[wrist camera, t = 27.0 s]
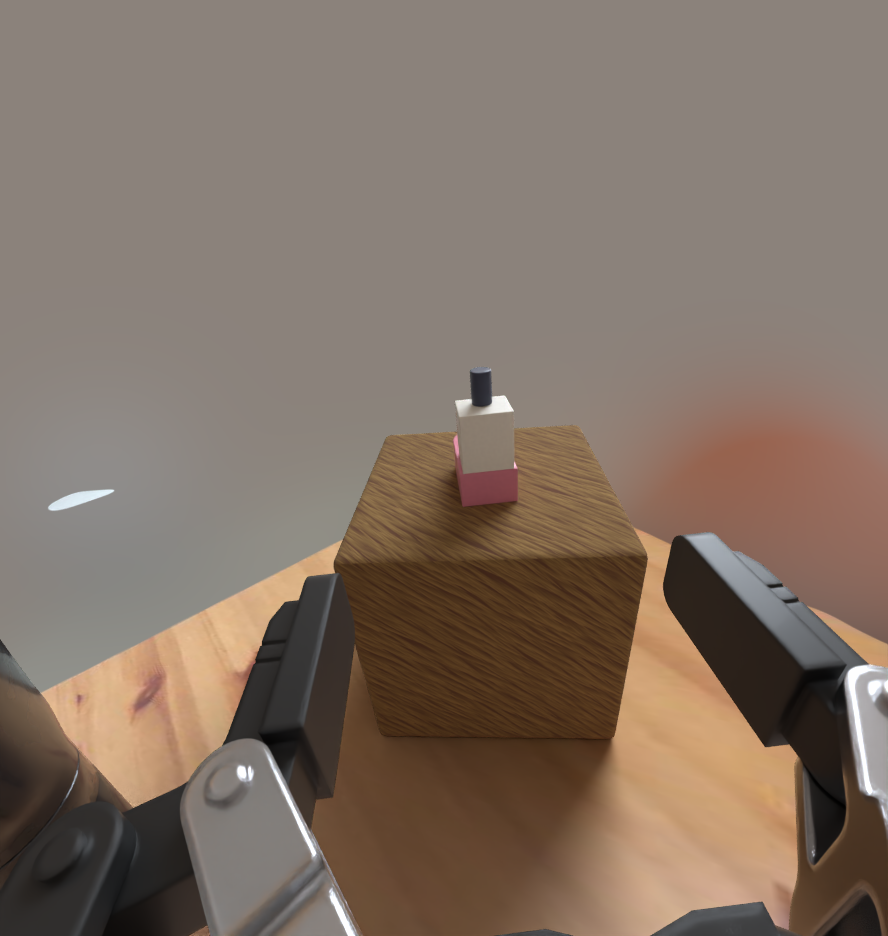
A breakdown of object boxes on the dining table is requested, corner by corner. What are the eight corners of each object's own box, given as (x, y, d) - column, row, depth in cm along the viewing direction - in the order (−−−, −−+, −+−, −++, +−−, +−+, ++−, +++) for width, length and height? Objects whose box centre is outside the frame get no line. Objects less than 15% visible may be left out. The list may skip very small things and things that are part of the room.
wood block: (568, 571, 66) (579, 422, 54) (616, 741, 44) (652, 555, 32) (409, 575, 68) (385, 433, 56) (379, 738, 46) (329, 563, 34)
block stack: (517, 501, 40) (517, 375, 34) (462, 507, 40) (452, 382, 34) (499, 454, 48) (496, 347, 42) (453, 459, 48) (444, 353, 42)
